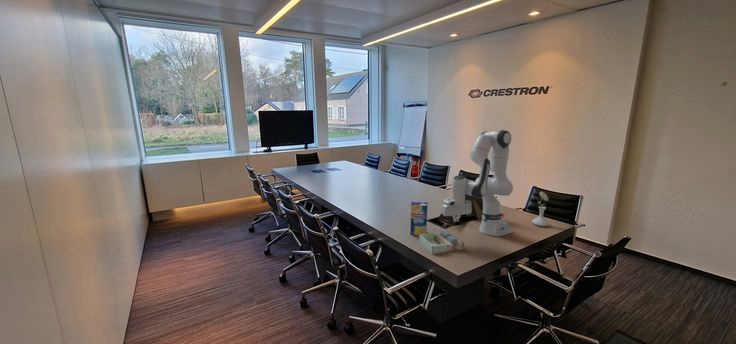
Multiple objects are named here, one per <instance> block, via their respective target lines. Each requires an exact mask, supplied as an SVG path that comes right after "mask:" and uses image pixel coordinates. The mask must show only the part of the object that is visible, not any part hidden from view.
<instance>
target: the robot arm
mask: <svg viewBox="0 0 736 344" xmlns="http://www.w3.org/2000/svg"><path fill="white" fill-rule="evenodd" d="M511 141H512V134H511V133H510V131H508V130H507V129H506V130H505V129H502V130H501V129H494V130H485V131H483V132H481V133H480V134H479V135H478V136H477V138H476V139H475V141H474V143H473V145H472V148H471V151H470V154H469V155H470V160H471V161H472V162H474V164H476V165H477V166H479V168H480V171H479V176H478V177H477V178H476V179H475V181H474V180H471V179H468V178H467V177H466V176H464V175H455V176H454V177H453V178H452V181H451V188H450V189H451V194H450V197H448V198H445V199H444V200H443V201H442V203H443V205H442V206H441V215H442V216H444V217H452V218H453V222H455V223H456V222H460V218H461V217H462V216H461V215H465V214H471V212H472V207H471V204H472V202H471V201H470V200H465V194H467V195H470V196H473V197H476V198H481V197H482V199H483V211H482V221H480V226H479V228H478V230H479V231H478V232H480V233H482V234H484V235H488V236H494V237H502V236H506V235H509V234H512V233H513V230H512V229H510V226H509V223H508V222H507V221H506V220H505V219H503V218H504V217H505V214H504V213H501V211H500V210H501V203H500V200H499V199H497V197H495V195H497V196H504V197H506V196H508V197H509V196H510V195H511V194H512V192H513V191H514V190H513V189H514V185H513V183H512V182H511V181H510V180H509V178H508V176H507V167H508V161H509V155H510V147H509V146H510V144H511ZM491 147H492V151H491ZM490 151H491V154H490ZM489 154H490V158H489ZM490 172H492V173H493V175H494V177H490V176H489V175H490Z"/></svg>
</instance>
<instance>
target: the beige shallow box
mask: <svg viewBox="0 0 736 344" xmlns="http://www.w3.org/2000/svg"><path fill="white" fill-rule="evenodd" d="M440 234H441V233H439V234H434V240H435V241H436V242H437V243H438V244H439V245H442V244H447V252H450V251H451V252H452V251H458V250H459V251H460V250H464V249H465V242H464V241H462V240H461V239H460V238H458V237H457V236H455V235H454V234H453V233H451V236H455V237H456V238H458V243H449V242H448V241H447V238H443V237H442V236H441V235H440Z"/></svg>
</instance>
